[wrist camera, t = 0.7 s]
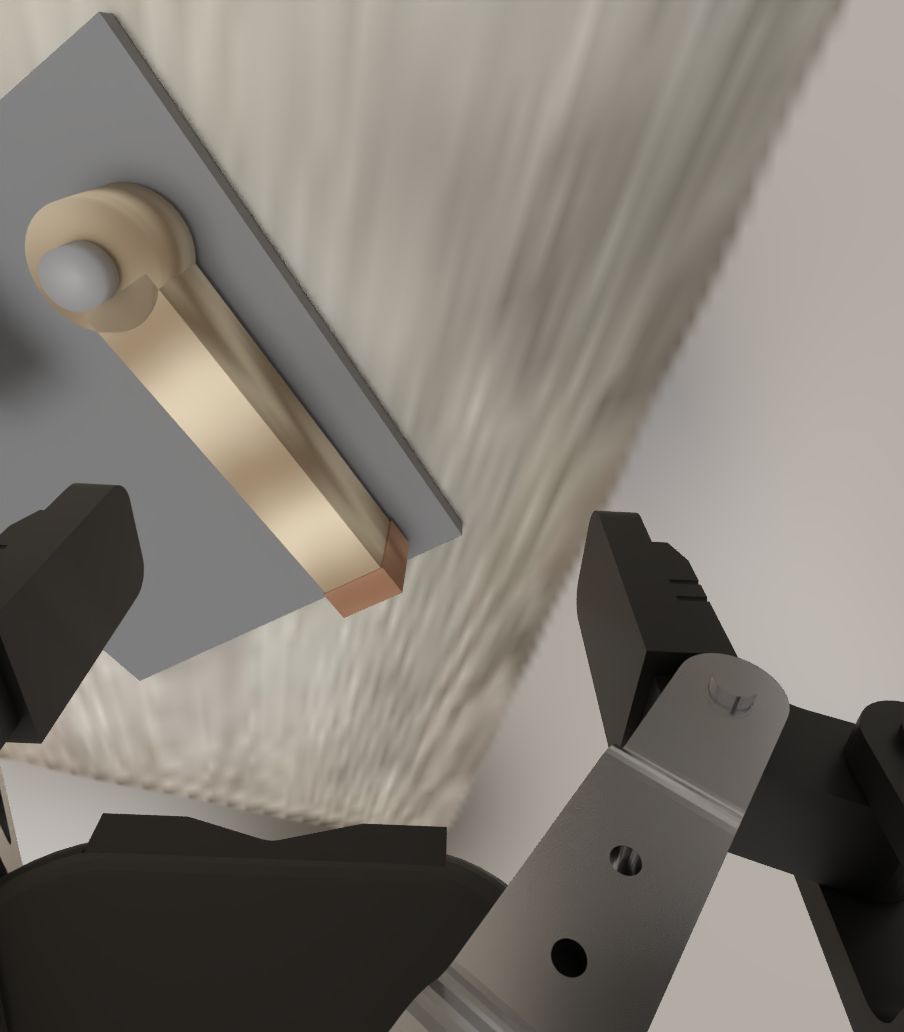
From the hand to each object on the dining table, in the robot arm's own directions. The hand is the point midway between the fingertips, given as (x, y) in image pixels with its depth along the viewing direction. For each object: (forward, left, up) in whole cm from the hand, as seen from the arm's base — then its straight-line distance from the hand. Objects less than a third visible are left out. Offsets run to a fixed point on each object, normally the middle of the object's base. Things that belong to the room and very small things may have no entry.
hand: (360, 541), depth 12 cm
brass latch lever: (+9, +1, -17) cm, 19 cm away
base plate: (+16, -1, -19) cm, 24 cm away
